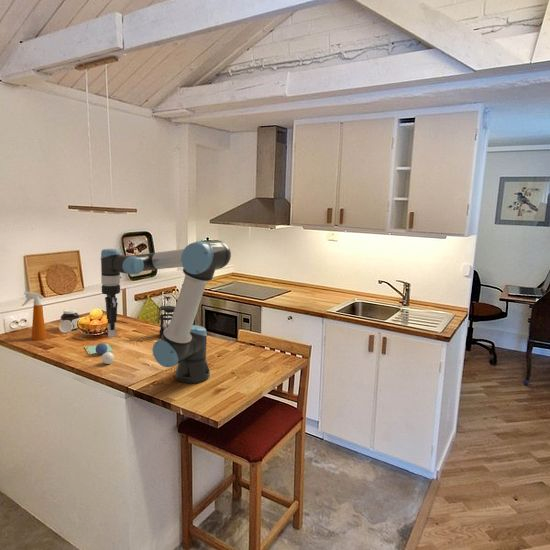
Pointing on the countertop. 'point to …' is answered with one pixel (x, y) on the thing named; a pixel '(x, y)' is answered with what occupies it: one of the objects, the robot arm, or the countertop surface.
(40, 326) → the spray bottle
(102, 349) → the object ball
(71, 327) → the spread jar
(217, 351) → the countertop surface
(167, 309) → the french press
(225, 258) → the robot arm
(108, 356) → the cue ball
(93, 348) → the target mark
